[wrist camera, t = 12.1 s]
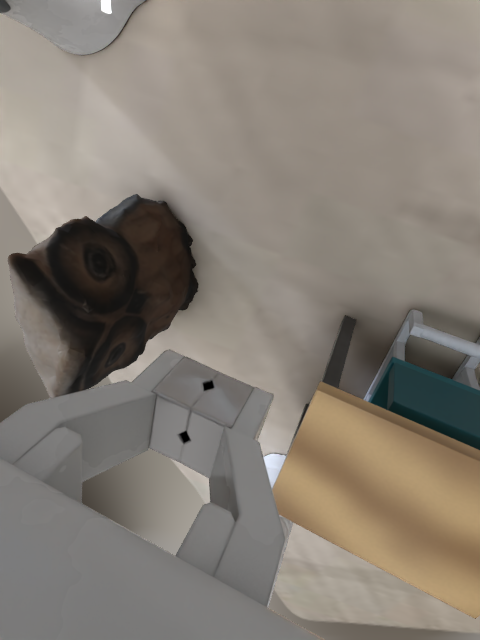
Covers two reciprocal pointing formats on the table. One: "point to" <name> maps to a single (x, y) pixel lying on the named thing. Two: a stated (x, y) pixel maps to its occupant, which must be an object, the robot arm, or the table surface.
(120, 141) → the table surface
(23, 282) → the owl
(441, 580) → the desk
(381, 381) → the chair
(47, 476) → the robot arm
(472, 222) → the table surface
